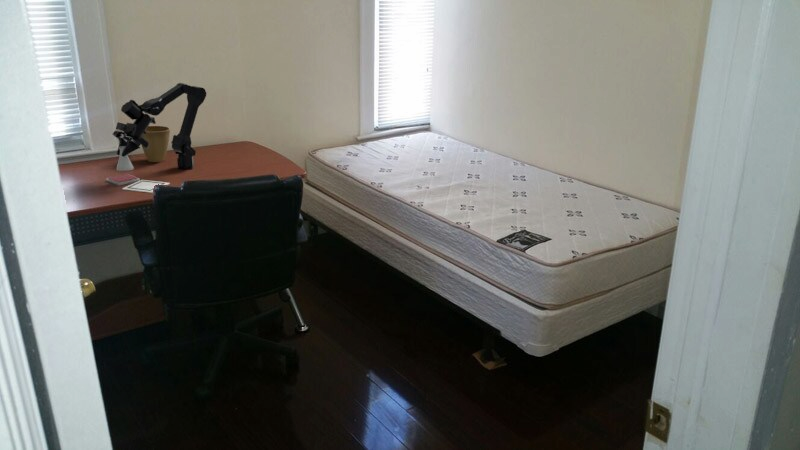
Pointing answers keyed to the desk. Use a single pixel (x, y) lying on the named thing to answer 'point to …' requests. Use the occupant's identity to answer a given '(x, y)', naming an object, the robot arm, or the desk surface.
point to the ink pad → (122, 179)
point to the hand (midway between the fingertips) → (120, 155)
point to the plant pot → (156, 143)
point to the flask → (124, 161)
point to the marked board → (144, 186)
